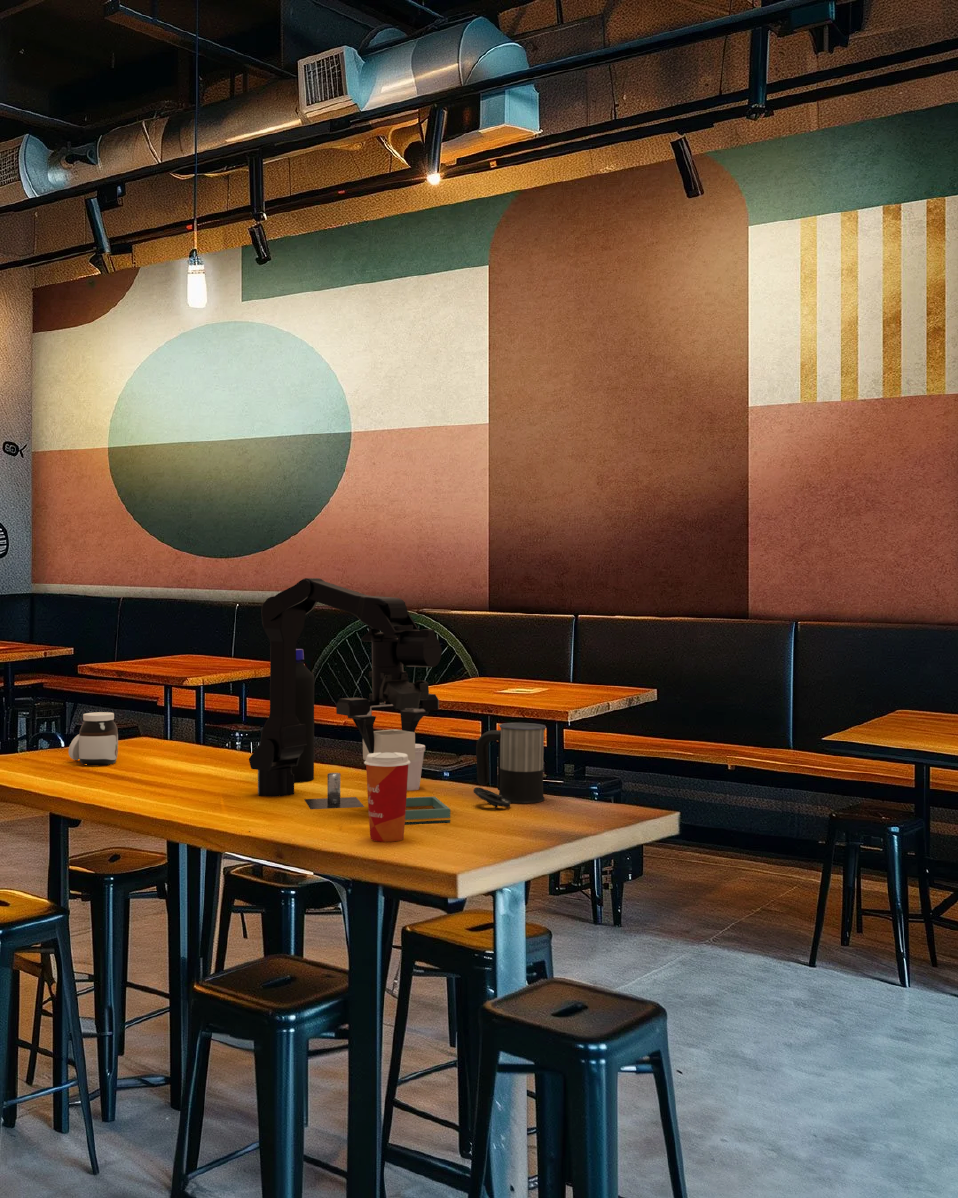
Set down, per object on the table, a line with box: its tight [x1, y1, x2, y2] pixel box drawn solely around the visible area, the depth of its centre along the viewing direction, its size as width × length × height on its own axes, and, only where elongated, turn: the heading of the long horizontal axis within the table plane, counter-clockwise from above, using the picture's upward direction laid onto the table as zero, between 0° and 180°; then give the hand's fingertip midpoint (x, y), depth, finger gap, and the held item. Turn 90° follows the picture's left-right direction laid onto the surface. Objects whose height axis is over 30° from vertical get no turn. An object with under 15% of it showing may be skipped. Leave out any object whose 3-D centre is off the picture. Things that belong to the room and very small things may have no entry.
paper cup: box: [363, 752, 410, 843], centre depth 199 cm, size 8×8×14 cm
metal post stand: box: [304, 772, 365, 810], centre depth 225 cm, size 10×10×6 cm
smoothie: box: [407, 743, 426, 791], centre depth 241 cm, size 6×6×14 cm
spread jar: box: [68, 711, 119, 766], centre depth 278 cm, size 12×11×12 cm
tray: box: [405, 796, 451, 826], centre depth 217 cm, size 12×12×2 cm
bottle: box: [290, 648, 315, 784], centre depth 257 cm, size 9×9×28 cm
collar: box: [362, 728, 416, 761], centre depth 219 cm, size 7×7×5 cm
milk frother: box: [473, 722, 547, 809], centre depth 232 cm, size 14×16×15 cm
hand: (389, 751), depth 219 cm, fingers closed on collar, 7 cm apart
